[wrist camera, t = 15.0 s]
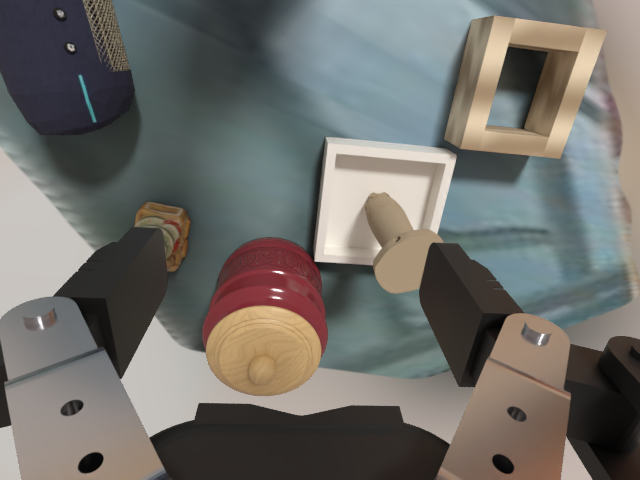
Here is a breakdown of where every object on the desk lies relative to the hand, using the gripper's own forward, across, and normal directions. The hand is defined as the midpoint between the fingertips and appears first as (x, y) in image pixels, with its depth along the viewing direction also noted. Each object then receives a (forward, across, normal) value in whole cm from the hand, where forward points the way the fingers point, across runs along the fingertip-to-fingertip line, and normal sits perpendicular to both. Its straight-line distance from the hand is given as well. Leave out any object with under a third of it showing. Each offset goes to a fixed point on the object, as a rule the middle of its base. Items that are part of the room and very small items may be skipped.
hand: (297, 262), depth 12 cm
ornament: (+34, +15, +16) cm, 40 cm away
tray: (+34, -10, +11) cm, 37 cm away
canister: (+34, +2, +22) cm, 41 cm away
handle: (+33, -10, +10) cm, 36 cm away
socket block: (+34, -22, -3) cm, 41 cm away
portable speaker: (+34, +22, -9) cm, 42 cm away
